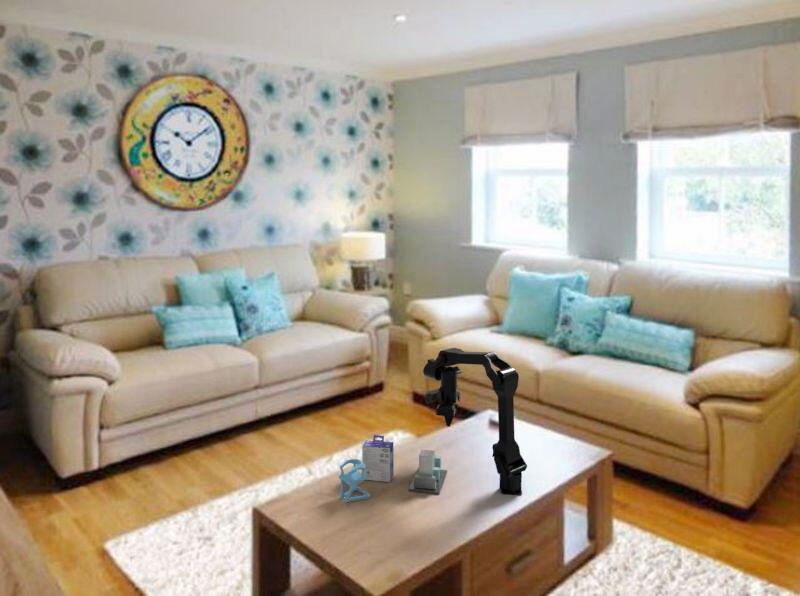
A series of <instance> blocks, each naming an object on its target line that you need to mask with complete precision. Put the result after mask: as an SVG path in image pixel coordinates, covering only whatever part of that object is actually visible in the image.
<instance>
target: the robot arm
mask: <svg viewBox="0 0 800 596" xmlns="http://www.w3.org/2000/svg"><path fill="white" fill-rule="evenodd" d="M455 365H478V366H479V365H481V366H483V368H484V371H485V374H486V377H487V378H488V379H489V380H490V381H491V385H492V390H493V391H494V393H495V395H496V396H497V416H498V417H497V419H498V440H497V442H496V443H493V444H492V455H491V456H492V458H493V462H494V465H495V469H496V473H497V474H498V475H499V482H498V483H499V484H498V486H499V489H500V493H501V494H503V495H517V496H518V495H519V494H521V495H523V491H522V477H523V474H522V473H523V472H525V471H526V470H527V468H528V464H527V463H526V461H525V460H524V458H523V456H522V454H521V451H520V446H519V443H518V442H517V441H516V439H515V409H514V408H515V407H514V406H515V404H514V397H515V393H516V392H517V390H518V387H519V386H518V385H519V379H520V378H519V373H518V371H516V369H515V368H513V366H512V365H511V364H510V363H509V362H507V361H506V360H504V359H503V358H501V357H500V355H498V354H497V353H496V352H494V351H489V352H488V351H465V350H463V349H461V348H457V347H451V348H446V349H442V350H439V352H438V355H437V357H436V359H434V358H429V359H427V363H426V364H425V365H424V368H423V375H424V376H425V377H426V378H428V379H432V380H434V381H437V382H438V381H440V387H439V388H436V389H433V390H429V391H426V392H425V394H424V395H423V397H424V402H426V404H427V405H430V404H431V403H436V402H438V403H439V404H438V405H437V407H436V409H435V416H442V417H444V421H445V425H446V427H448V428H449V427H451V424H452V422H453V420H454V418H455V414H456V413H457V410H458V408H459V404H457V401H458V402H460V401H461V395H462V394H461V392H460V391H458V389H459V388H458V387H459V384H458V375H460V374H462V373H463V371H462V370H461V369H460V368H459V366H455ZM493 366H495V367H496V368H497V369H499V370H495V368H494V367H493Z"/></svg>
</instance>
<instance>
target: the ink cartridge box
mask: <svg viewBox="0 0 800 596" xmlns="http://www.w3.org/2000/svg"><path fill="white" fill-rule="evenodd" d="M377 438H380V439H377ZM394 450H395V449H394V442H393V441H385V435H379V434H378V435H376V434H374V435H373V437H372V440H365V442H364V443H363V444H362V447H361V451H362V452H361V455H362V457H361V458H362V460H361V461H362V462H363V463H364V465H365V466H366V467H365V471H364V475H365V476H366V477H367V480H366V481H373V482H384V483H385V482H386V483H388V482H389V483H390V482H391V481H392V479H393V478H394V477H395V474H394V473H395V470H394V468H395V467H394V465H395V464H394V460H395V459H394V453H395V452H394Z"/></svg>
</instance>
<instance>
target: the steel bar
mask: <svg viewBox="0 0 800 596" xmlns="http://www.w3.org/2000/svg"><path fill="white" fill-rule="evenodd" d="M435 454H436V451H435V450H429V449H421V450H420V452H419V454H418V467H419V475H428V476H435V456H436V455H435Z"/></svg>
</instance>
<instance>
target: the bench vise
mask: <svg viewBox="0 0 800 596" xmlns="http://www.w3.org/2000/svg"><path fill="white" fill-rule="evenodd" d="M447 474H448V470H447V469H440V478H439V480H436V476H428V475H418V469H416V472H415V474H414V476H413V478H412V480H411V483H410V486H409V488H408V492H413V493H422V494H431V495H440V494H441V490H442V489H443V486H444V483H445V479H446V476H447Z"/></svg>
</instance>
